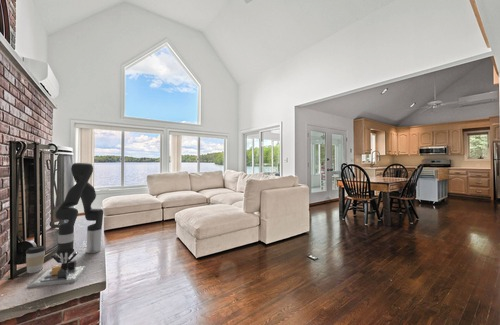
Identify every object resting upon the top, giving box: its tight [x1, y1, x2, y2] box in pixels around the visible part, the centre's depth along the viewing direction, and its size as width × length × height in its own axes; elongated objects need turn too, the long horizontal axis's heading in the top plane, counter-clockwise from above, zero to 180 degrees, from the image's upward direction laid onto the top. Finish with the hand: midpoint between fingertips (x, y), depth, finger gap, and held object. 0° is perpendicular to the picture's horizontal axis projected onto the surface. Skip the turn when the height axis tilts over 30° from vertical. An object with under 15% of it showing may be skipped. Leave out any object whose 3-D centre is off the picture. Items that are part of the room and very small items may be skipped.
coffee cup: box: [25, 245, 46, 274], centre depth 137 cm, size 9×9×15 cm
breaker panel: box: [26, 260, 87, 288], centre depth 131 cm, size 16×22×7 cm
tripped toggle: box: [51, 264, 62, 275], centre depth 130 cm, size 2×4×5 cm, turn 109°
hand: (64, 268), depth 131 cm, fingers closed
